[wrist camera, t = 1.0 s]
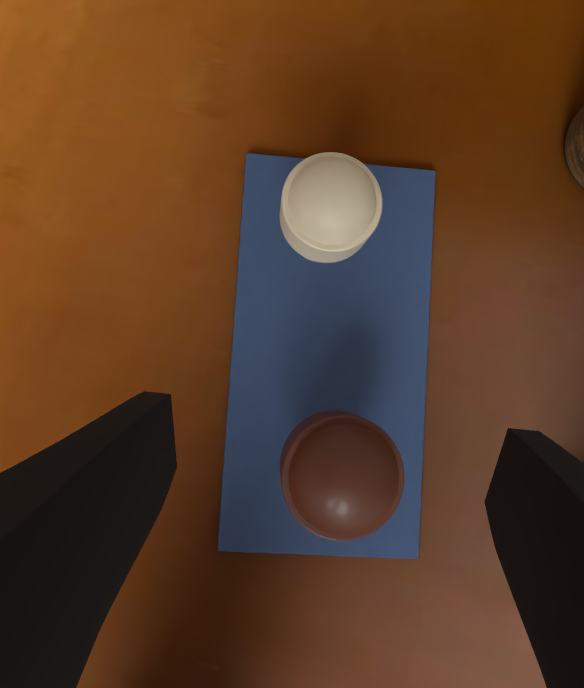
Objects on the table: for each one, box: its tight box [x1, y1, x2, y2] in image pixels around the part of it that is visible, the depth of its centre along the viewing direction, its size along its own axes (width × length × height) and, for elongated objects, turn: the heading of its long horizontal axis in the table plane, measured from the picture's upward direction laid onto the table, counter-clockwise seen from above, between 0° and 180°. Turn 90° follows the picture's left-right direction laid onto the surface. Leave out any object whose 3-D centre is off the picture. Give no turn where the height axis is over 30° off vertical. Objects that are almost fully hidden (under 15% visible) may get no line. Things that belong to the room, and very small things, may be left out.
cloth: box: [217, 153, 436, 559], centre depth 22 cm, size 20×10×1 cm, turn 176°
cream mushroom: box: [280, 152, 382, 263], centre depth 20 cm, size 4×4×6 cm
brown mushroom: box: [280, 410, 404, 541], centre depth 19 cm, size 5×5×7 cm
